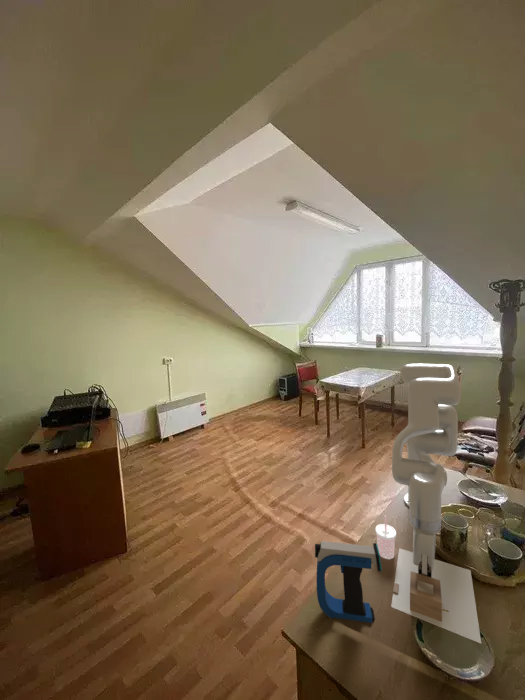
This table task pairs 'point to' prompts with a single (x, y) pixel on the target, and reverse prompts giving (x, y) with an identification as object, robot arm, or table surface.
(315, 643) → the table surface
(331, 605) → the handheld scanner
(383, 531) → the beverage cup
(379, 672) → the table surface
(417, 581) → the block
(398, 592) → the subfloor panel
